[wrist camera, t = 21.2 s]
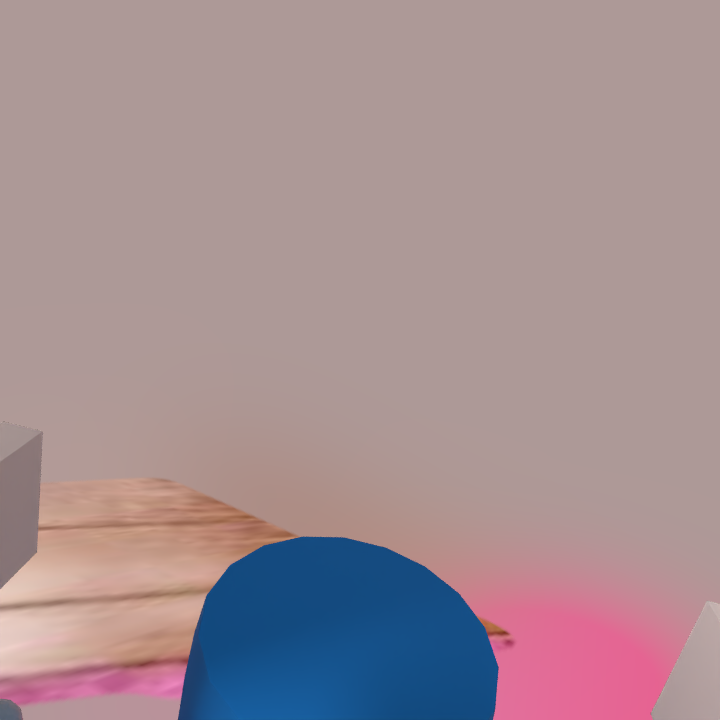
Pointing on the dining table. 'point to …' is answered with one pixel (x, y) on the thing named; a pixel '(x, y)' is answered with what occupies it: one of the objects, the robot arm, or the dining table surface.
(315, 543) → the thermos
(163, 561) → the dining table surface
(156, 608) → the dining table surface
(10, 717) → the robot arm
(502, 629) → the dining table surface
